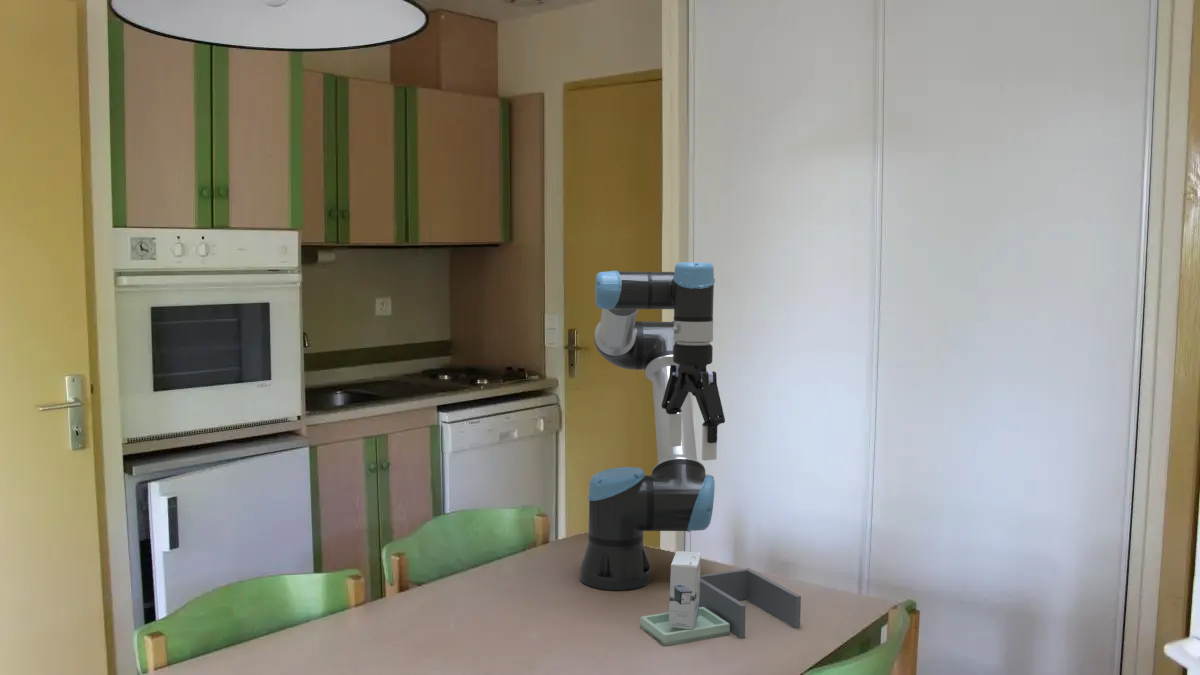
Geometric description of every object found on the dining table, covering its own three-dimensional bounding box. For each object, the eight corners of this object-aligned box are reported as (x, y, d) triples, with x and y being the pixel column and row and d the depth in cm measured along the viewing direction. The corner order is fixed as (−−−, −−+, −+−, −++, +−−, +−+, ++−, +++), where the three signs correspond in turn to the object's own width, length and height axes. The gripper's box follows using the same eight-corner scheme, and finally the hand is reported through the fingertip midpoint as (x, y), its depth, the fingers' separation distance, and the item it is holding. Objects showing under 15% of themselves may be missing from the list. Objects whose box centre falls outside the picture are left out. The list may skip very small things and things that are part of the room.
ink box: (674, 610, 179) (675, 549, 178) (701, 613, 178) (702, 551, 177) (668, 627, 171) (668, 563, 170) (696, 630, 170) (697, 565, 169)
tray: (640, 627, 176) (640, 616, 176) (703, 616, 181) (703, 606, 181) (664, 646, 167) (664, 635, 167) (729, 634, 173) (729, 623, 173)
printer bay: (691, 606, 187) (692, 576, 187) (748, 597, 192) (748, 568, 192) (740, 638, 171) (740, 606, 171) (800, 627, 176) (800, 596, 176)
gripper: (645, 338, 192) (644, 442, 194) (709, 349, 169) (707, 467, 171) (678, 337, 195) (677, 440, 197) (745, 348, 172) (742, 464, 174)
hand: (691, 453), depth 184 cm, fingers open, 13 cm apart
